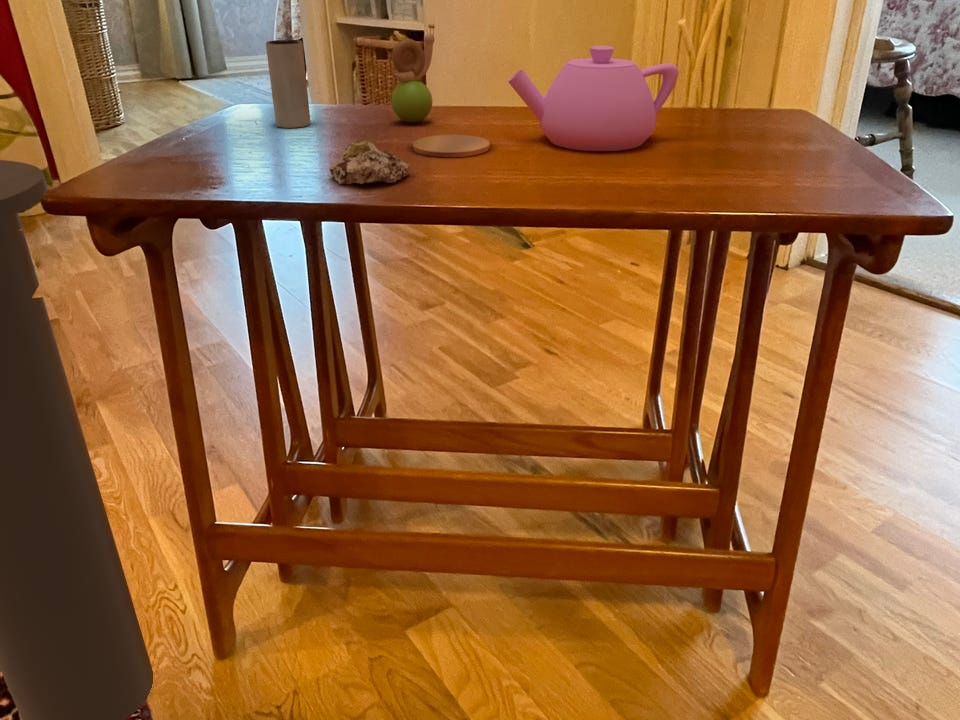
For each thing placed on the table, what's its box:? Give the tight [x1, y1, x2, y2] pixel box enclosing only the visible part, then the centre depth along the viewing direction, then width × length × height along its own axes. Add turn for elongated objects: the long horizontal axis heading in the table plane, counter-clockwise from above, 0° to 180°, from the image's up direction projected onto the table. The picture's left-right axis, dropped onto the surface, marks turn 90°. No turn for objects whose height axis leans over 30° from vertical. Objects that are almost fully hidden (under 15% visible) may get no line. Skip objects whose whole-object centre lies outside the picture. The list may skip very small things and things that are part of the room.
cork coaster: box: [412, 134, 491, 158], centre depth 92 cm, size 9×9×1 cm
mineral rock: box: [328, 139, 411, 185], centre depth 81 cm, size 11×4×8 cm
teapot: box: [507, 45, 680, 152], centre depth 93 cm, size 14×20×11 cm
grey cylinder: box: [265, 39, 311, 129], centre depth 102 cm, size 4×4×10 cm
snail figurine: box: [390, 23, 436, 124], centre depth 102 cm, size 5×6×12 cm
